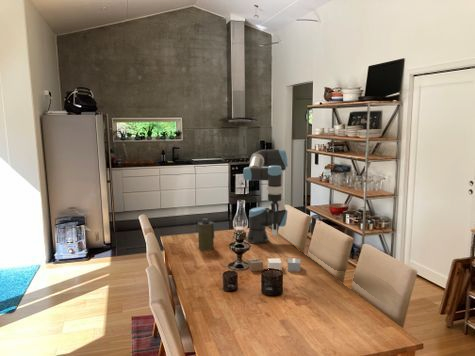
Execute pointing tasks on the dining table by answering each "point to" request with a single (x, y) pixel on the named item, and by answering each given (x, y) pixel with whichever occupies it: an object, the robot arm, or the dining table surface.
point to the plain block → (275, 263)
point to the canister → (206, 234)
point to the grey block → (294, 264)
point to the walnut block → (255, 264)
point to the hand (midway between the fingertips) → (274, 234)
